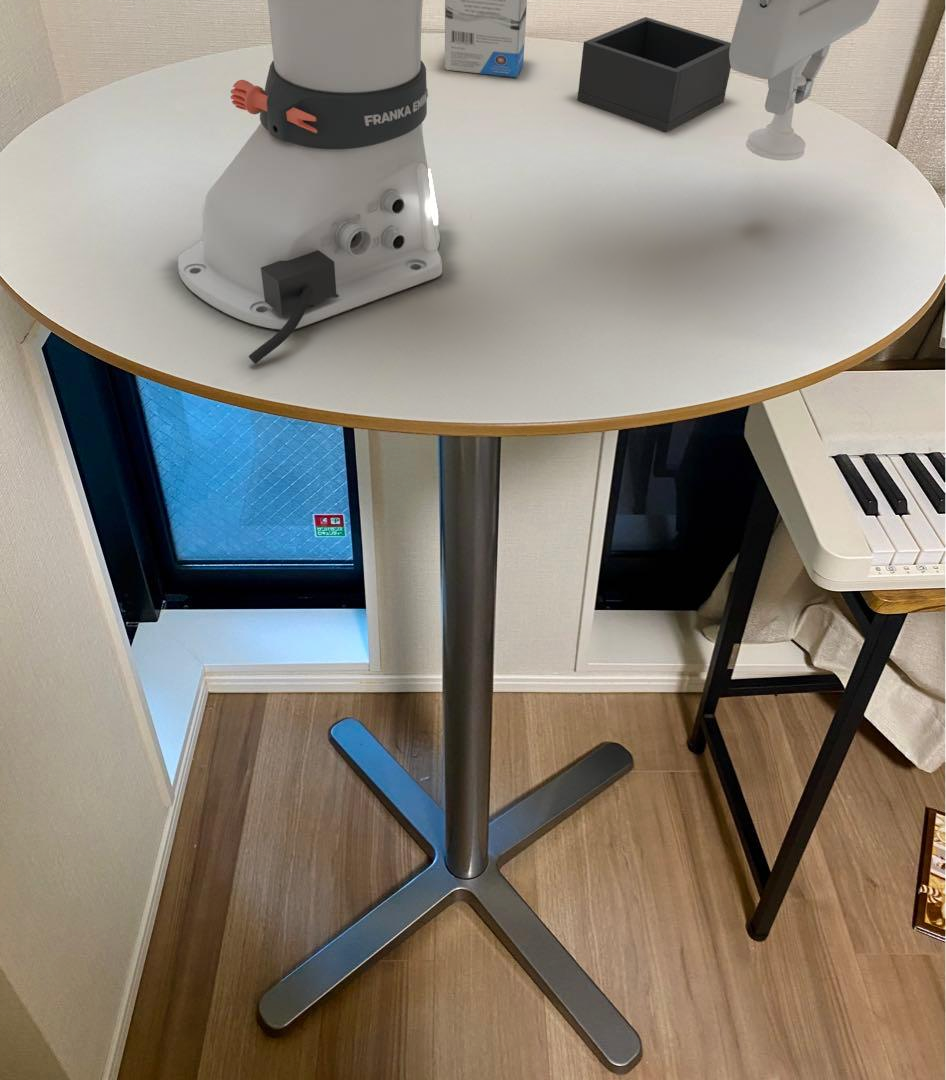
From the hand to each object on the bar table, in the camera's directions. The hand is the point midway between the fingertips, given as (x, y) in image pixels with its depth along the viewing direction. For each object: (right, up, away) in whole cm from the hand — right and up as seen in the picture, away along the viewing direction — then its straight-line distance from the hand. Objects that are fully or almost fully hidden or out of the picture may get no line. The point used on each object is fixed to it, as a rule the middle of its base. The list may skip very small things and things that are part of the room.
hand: (786, 105), depth 82 cm
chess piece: (0, -3, +3) cm, 4 cm away
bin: (-6, +12, +27) cm, 30 cm away
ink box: (-25, +18, +32) cm, 45 cm away
